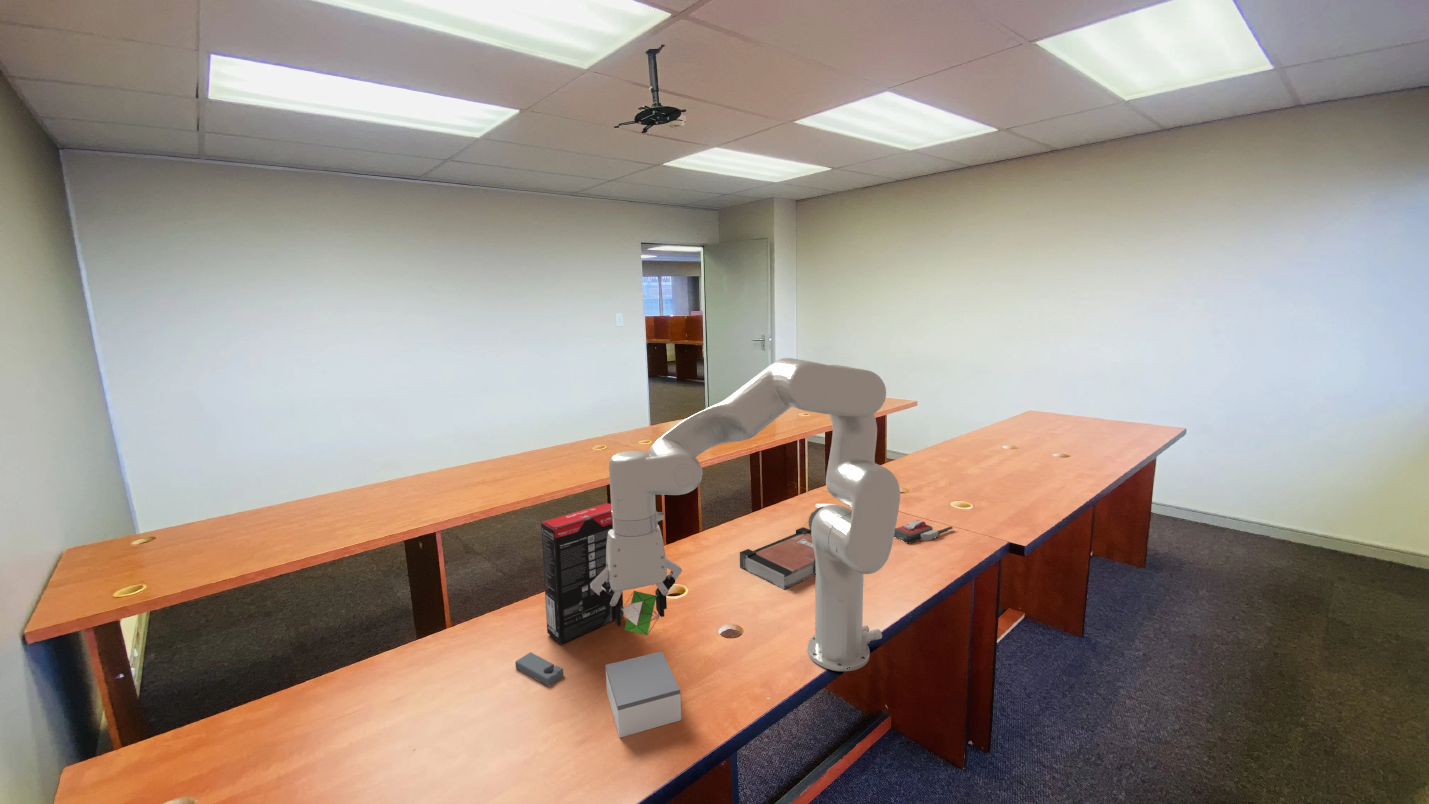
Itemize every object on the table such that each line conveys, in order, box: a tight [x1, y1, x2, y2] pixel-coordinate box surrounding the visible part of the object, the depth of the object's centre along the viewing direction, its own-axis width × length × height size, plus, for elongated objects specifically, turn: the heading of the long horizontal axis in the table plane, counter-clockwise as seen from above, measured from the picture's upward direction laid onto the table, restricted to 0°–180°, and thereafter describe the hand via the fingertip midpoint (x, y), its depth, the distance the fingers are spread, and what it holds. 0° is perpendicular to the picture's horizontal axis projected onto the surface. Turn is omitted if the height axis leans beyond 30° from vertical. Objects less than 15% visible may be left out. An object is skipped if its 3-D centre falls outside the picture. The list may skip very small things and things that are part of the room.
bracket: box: [515, 651, 564, 687], centre depth 114 cm, size 4×10×2 cm, turn 55°
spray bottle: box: [808, 503, 837, 530], centre depth 190 cm, size 3×11×24 cm
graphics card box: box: [540, 502, 624, 645], centre depth 128 cm, size 17×7×27 cm, turn 134°
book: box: [739, 526, 816, 591], centre depth 158 cm, size 26×18×5 cm
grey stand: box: [604, 651, 682, 738], centre depth 103 cm, size 11×12×6 cm
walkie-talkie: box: [894, 519, 954, 543], centre depth 176 cm, size 9×4×20 cm
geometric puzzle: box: [621, 589, 661, 637], centre depth 101 cm, size 7×7×8 cm
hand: (639, 617), depth 101 cm, fingers closed on geometric puzzle, 7 cm apart
